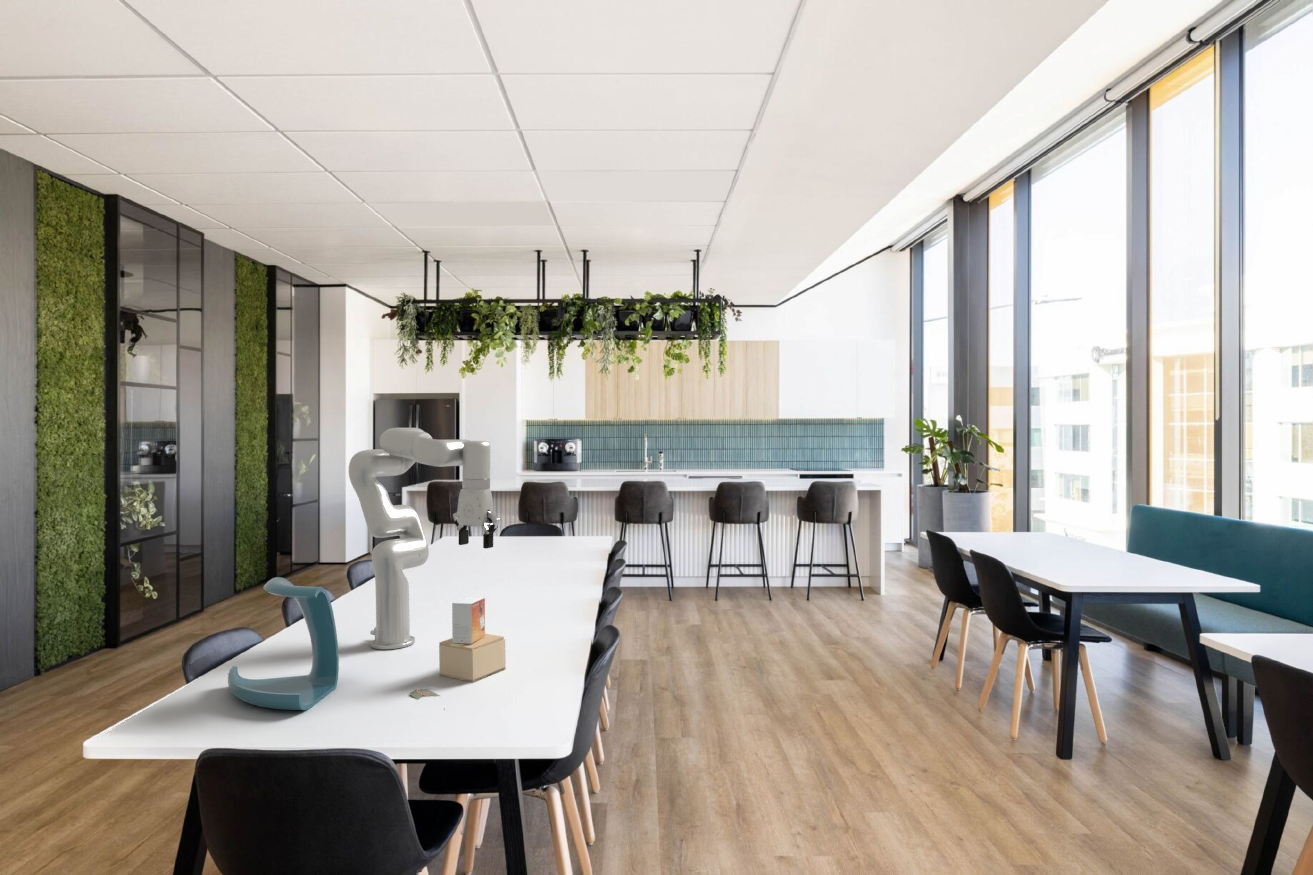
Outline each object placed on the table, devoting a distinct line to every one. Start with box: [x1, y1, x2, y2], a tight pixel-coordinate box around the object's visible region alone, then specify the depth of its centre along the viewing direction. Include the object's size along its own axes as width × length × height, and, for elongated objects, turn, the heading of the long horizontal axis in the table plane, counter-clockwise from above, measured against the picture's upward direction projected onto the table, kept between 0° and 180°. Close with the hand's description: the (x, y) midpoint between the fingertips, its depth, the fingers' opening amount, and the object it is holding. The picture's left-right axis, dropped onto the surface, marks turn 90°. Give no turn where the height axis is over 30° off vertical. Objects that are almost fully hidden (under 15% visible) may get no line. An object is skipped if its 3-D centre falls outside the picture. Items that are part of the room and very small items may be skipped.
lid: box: [439, 633, 505, 651], centre depth 191 cm, size 12×12×1 cm
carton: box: [438, 638, 506, 683], centre depth 191 cm, size 12×12×8 cm
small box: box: [451, 596, 486, 644], centre depth 191 cm, size 8×6×10 cm
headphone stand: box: [227, 576, 340, 711], centre depth 176 cm, size 26×28×28 cm
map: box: [409, 688, 445, 711], centre depth 170 cm, size 5×20×1 cm, turn 47°
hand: (475, 546), depth 201 cm, fingers open, 9 cm apart
